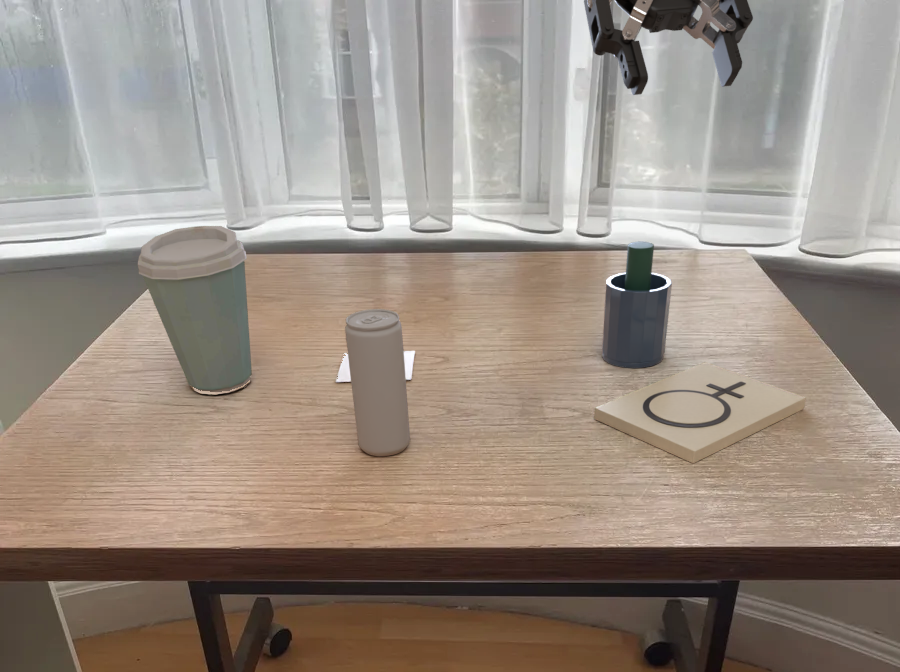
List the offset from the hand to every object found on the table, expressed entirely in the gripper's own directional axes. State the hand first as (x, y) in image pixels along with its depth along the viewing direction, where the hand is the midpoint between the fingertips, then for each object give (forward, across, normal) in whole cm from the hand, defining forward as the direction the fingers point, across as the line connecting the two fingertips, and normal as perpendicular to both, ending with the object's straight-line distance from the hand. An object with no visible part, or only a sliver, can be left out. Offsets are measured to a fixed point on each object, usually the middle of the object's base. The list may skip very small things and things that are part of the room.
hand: (686, 84), depth 79 cm
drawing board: (+26, -1, +11) cm, 29 cm away
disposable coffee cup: (+10, -45, +27) cm, 54 cm away
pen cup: (+16, -1, +21) cm, 26 cm away
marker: (+15, -1, +21) cm, 26 cm away
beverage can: (+24, -31, +13) cm, 41 cm away
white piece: (+11, -28, +26) cm, 40 cm away
